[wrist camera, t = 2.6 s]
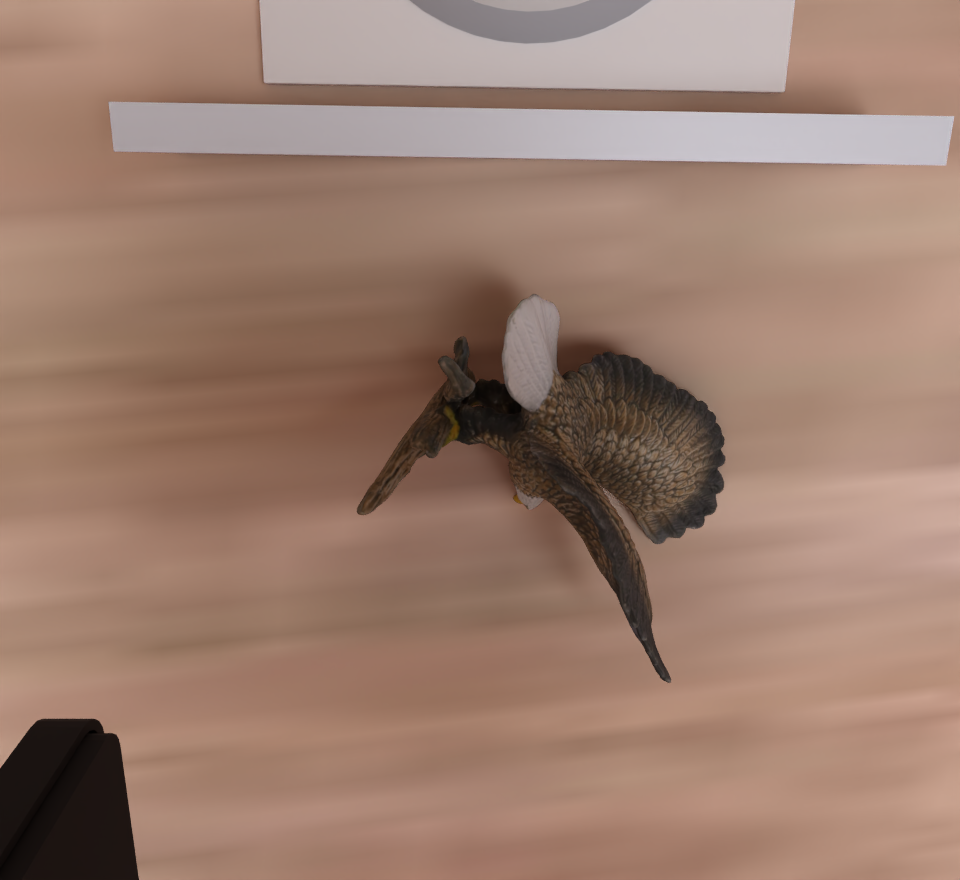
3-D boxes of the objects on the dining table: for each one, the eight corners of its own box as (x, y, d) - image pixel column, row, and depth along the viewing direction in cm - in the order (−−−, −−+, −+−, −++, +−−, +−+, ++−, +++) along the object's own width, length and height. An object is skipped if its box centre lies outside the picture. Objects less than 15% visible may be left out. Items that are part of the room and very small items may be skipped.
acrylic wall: (872, 123, 23) (954, 116, 19) (867, 164, 23) (945, 165, 19) (170, 111, 22) (108, 101, 18) (174, 152, 23) (113, 151, 19)
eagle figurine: (354, 539, 25) (631, 698, 25) (350, 479, 18) (734, 700, 18) (482, 328, 27) (737, 471, 27) (522, 204, 20) (864, 395, 20)
